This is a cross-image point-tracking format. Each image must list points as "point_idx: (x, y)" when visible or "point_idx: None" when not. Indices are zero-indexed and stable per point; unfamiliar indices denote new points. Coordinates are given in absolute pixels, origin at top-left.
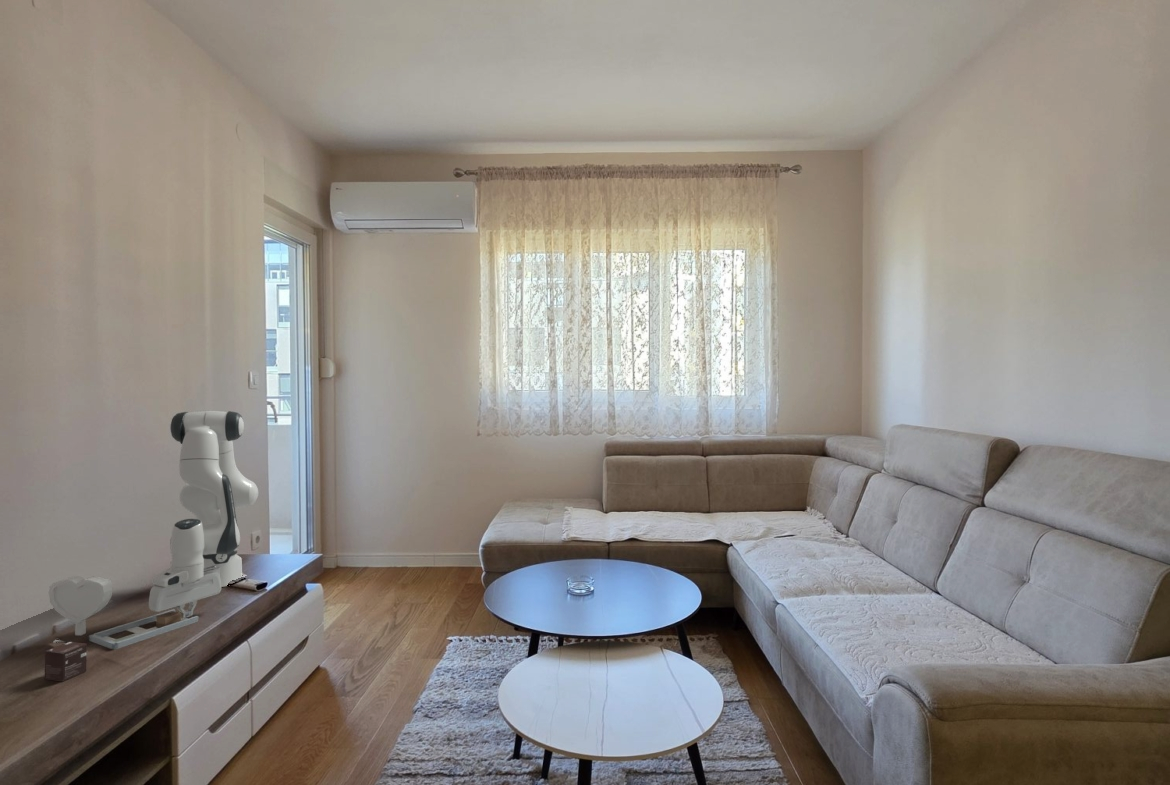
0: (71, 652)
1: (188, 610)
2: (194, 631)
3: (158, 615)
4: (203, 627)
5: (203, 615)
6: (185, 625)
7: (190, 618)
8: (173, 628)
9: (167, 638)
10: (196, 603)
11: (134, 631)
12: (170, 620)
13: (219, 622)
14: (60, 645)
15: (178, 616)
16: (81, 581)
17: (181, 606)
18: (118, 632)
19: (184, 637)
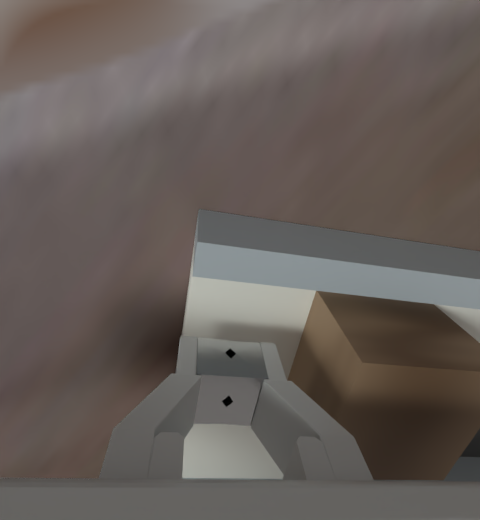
0: None
1: (209, 397)
2: (305, 131)
3: (432, 476)
4: (204, 133)
5: (22, 361)
6: (319, 242)
7: (274, 267)
8: (425, 258)
9: (461, 216)
10: (120, 432)
11: None
12: (438, 343)
13: (36, 84)
14: None
15: (376, 346)
16: None
17: (349, 462)
18: (471, 479)
19: (439, 94)
